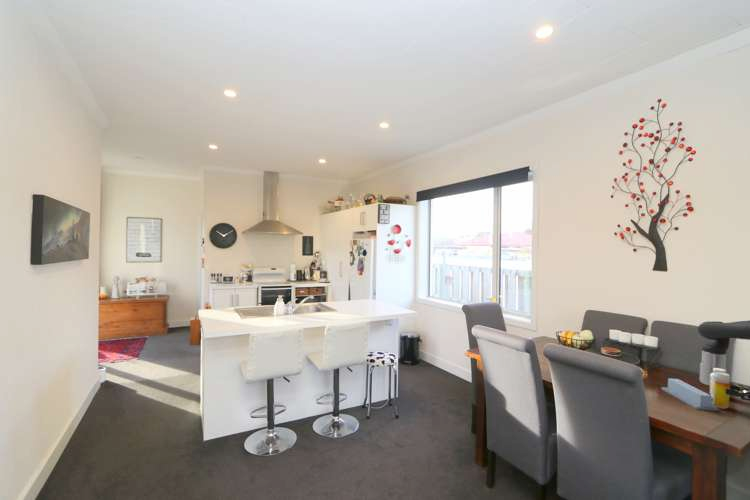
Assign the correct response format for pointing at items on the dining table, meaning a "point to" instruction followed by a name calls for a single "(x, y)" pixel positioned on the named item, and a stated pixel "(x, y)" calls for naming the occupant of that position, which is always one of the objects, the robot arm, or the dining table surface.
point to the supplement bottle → (717, 371)
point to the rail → (689, 395)
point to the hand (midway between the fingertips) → (724, 388)
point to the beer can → (720, 389)
